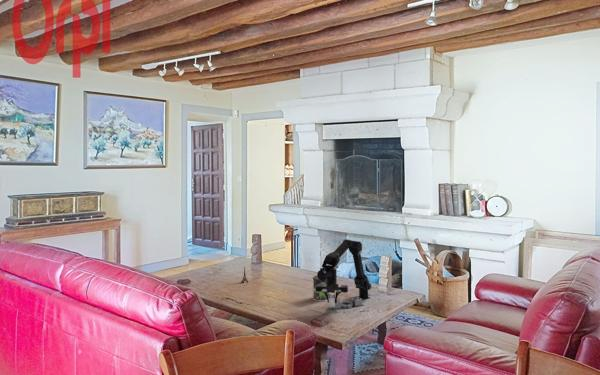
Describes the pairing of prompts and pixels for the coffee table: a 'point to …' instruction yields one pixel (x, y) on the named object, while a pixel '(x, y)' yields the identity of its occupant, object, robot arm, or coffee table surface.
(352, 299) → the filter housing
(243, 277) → the eiffel tower figurine
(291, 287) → the coffee table surface
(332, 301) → the cartridge
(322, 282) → the coffee can
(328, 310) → the rubber pad
